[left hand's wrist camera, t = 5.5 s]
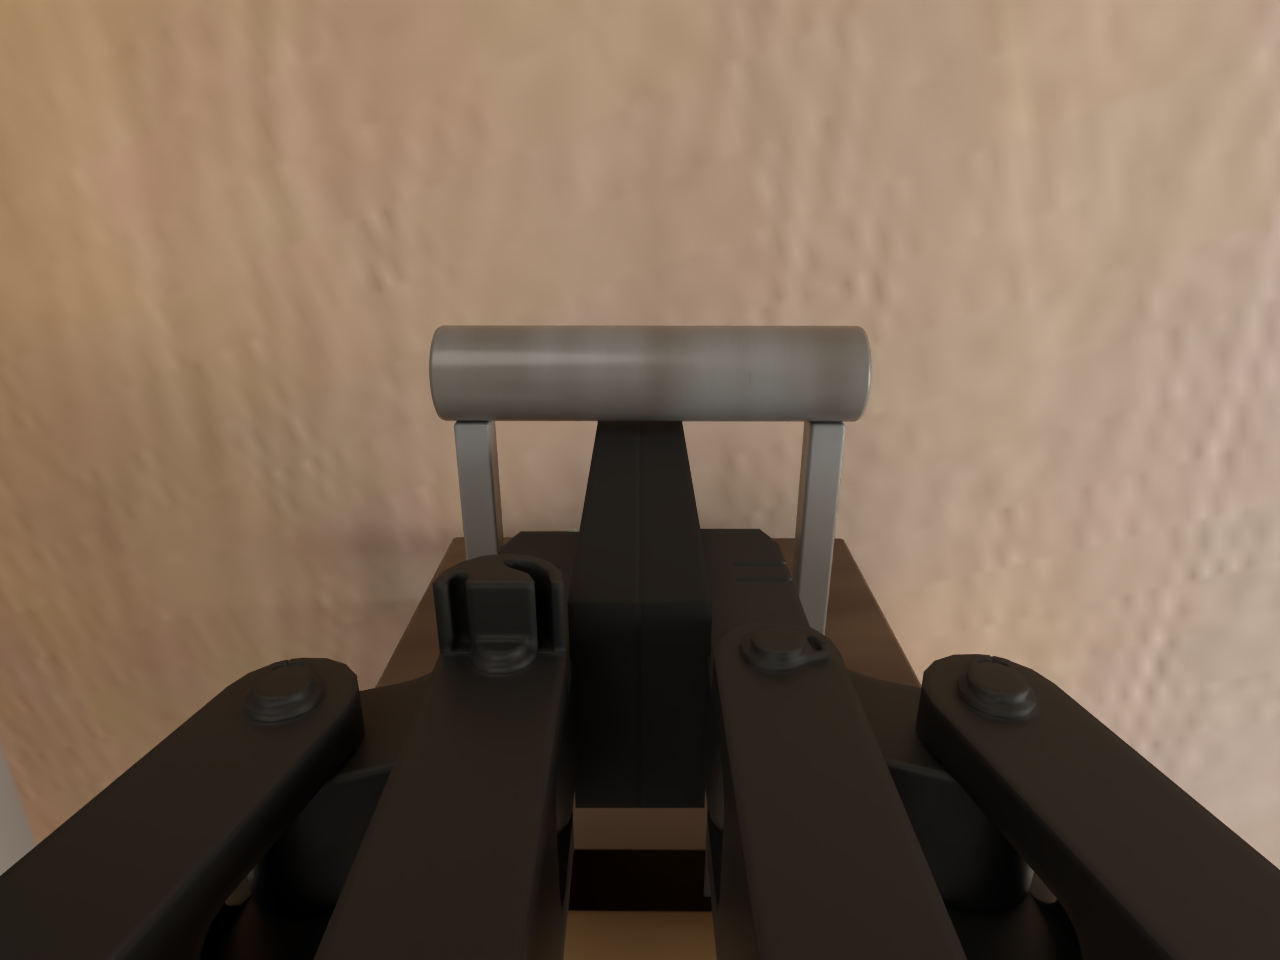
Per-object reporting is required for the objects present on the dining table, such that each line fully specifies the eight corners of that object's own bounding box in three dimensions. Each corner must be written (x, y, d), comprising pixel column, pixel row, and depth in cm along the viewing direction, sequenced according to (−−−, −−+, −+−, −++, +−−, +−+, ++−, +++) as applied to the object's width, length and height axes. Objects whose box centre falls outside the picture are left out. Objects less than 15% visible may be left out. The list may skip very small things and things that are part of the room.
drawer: (428, 290, 17) (244, 393, 9) (869, 290, 17) (1061, 394, 9) (495, 967, 24) (425, 1336, 17) (798, 970, 24) (868, 1340, 17)
